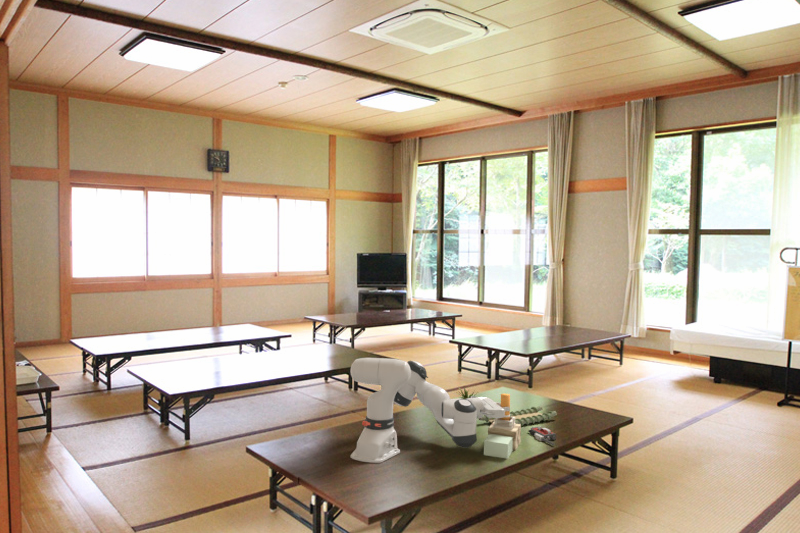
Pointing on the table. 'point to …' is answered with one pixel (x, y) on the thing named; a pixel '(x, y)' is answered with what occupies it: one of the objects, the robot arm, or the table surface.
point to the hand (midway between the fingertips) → (507, 406)
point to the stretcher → (526, 416)
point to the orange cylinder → (505, 402)
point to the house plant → (465, 394)
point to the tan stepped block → (507, 430)
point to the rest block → (498, 446)
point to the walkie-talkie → (543, 434)
